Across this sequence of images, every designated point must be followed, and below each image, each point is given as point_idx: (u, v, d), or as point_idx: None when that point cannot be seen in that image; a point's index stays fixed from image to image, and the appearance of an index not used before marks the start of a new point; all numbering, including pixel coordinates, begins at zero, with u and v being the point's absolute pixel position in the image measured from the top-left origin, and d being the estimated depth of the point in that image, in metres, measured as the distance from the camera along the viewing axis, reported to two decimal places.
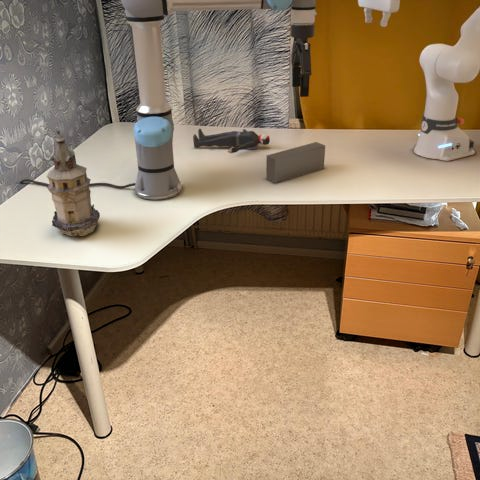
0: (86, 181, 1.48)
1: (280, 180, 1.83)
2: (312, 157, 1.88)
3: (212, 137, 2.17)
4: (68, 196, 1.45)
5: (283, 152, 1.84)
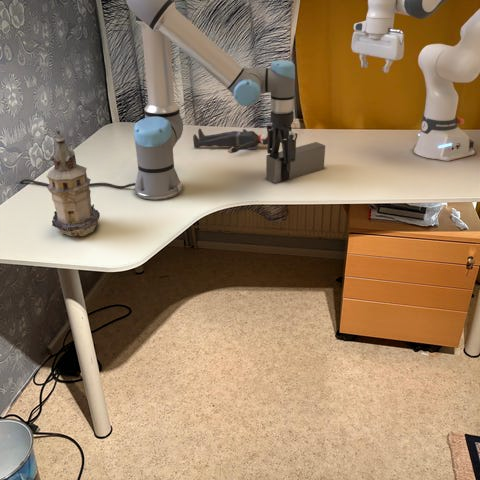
0: (86, 181, 1.48)
1: (280, 180, 1.83)
2: (312, 157, 1.88)
3: (212, 137, 2.17)
4: (68, 196, 1.45)
5: None
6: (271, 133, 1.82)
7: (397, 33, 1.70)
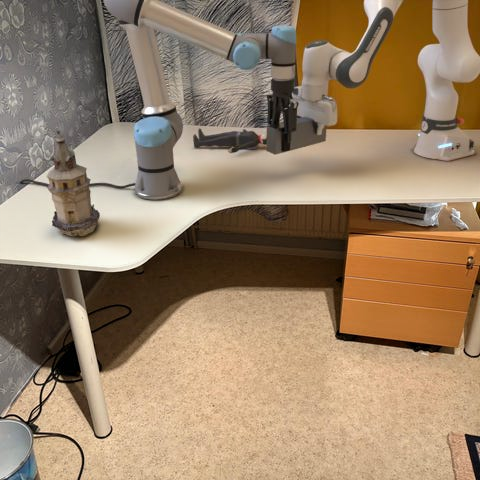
0: (86, 181, 1.48)
1: (281, 151, 1.78)
2: (314, 128, 1.83)
3: (212, 137, 2.17)
4: (68, 196, 1.45)
5: None
6: (271, 103, 1.77)
7: (330, 101, 1.74)
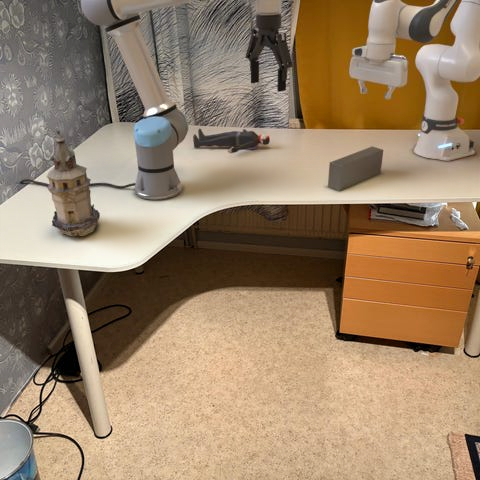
0: (86, 181, 1.48)
1: (343, 187, 1.77)
2: (372, 162, 1.83)
3: (212, 137, 2.17)
4: (68, 196, 1.45)
5: (345, 158, 1.78)
6: (255, 38, 1.65)
7: (401, 59, 1.62)
